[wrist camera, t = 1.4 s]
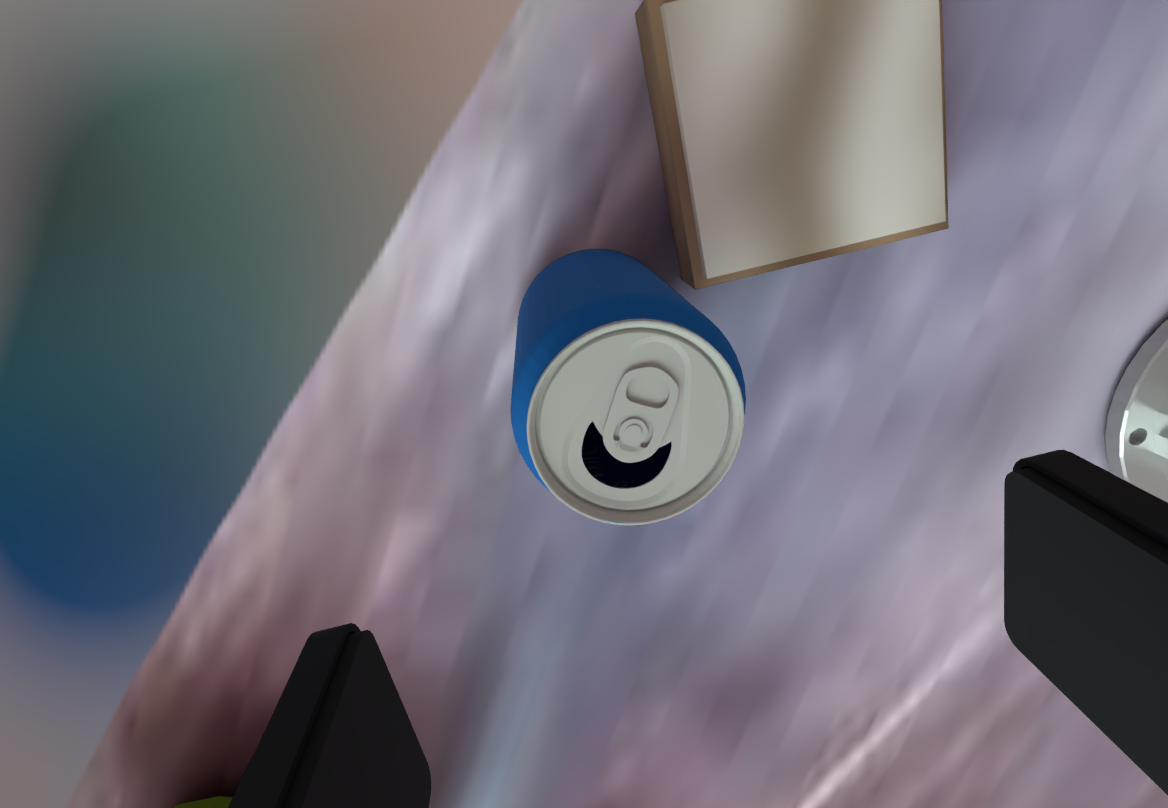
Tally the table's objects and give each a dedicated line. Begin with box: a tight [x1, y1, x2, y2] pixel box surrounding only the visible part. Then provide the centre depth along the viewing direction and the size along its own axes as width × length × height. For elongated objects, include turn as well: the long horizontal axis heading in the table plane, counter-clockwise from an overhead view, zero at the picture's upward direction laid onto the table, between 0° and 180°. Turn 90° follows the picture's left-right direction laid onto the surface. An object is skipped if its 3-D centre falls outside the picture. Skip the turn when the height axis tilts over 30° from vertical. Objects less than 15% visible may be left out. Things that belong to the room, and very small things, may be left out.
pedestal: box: [635, 0, 948, 289], centre depth 24 cm, size 10×10×3 cm
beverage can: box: [511, 249, 746, 525], centre depth 22 cm, size 6×6×12 cm
